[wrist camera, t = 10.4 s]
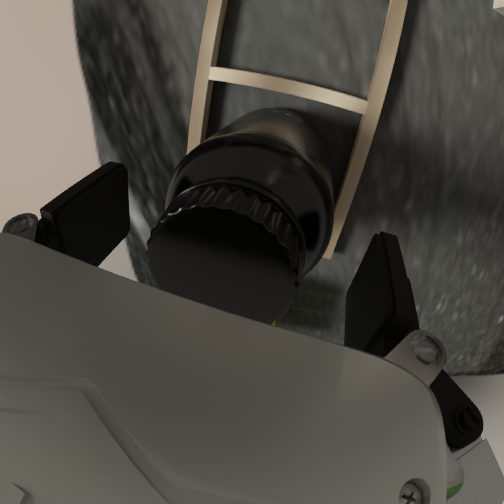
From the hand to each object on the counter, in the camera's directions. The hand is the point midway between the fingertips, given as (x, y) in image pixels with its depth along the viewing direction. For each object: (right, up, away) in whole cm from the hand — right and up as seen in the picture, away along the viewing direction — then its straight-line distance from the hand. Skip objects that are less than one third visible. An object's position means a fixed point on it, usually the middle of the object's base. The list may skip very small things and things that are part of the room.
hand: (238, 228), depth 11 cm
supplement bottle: (+2, +5, +8) cm, 10 cm away
